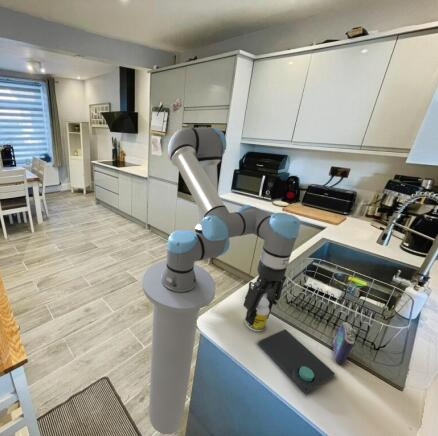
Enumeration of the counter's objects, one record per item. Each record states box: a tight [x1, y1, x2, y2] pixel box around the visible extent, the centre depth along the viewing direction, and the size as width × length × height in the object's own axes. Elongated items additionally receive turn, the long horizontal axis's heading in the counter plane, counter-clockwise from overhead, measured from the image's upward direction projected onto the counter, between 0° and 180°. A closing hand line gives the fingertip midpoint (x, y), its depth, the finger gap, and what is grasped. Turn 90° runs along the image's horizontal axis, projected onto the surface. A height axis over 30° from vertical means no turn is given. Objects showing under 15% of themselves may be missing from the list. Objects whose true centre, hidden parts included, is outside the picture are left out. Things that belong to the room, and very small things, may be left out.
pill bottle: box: [244, 296, 271, 332], centre depth 81 cm, size 6×6×11 cm
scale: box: [257, 329, 336, 395], centre depth 71 cm, size 16×13×3 cm
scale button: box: [299, 366, 314, 382], centre depth 65 cm, size 3×3×2 cm
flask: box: [332, 321, 357, 366], centre depth 72 cm, size 9×3×11 cm, turn 148°
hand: (256, 319), depth 82 cm, fingers closed on pill bottle, 6 cm apart
